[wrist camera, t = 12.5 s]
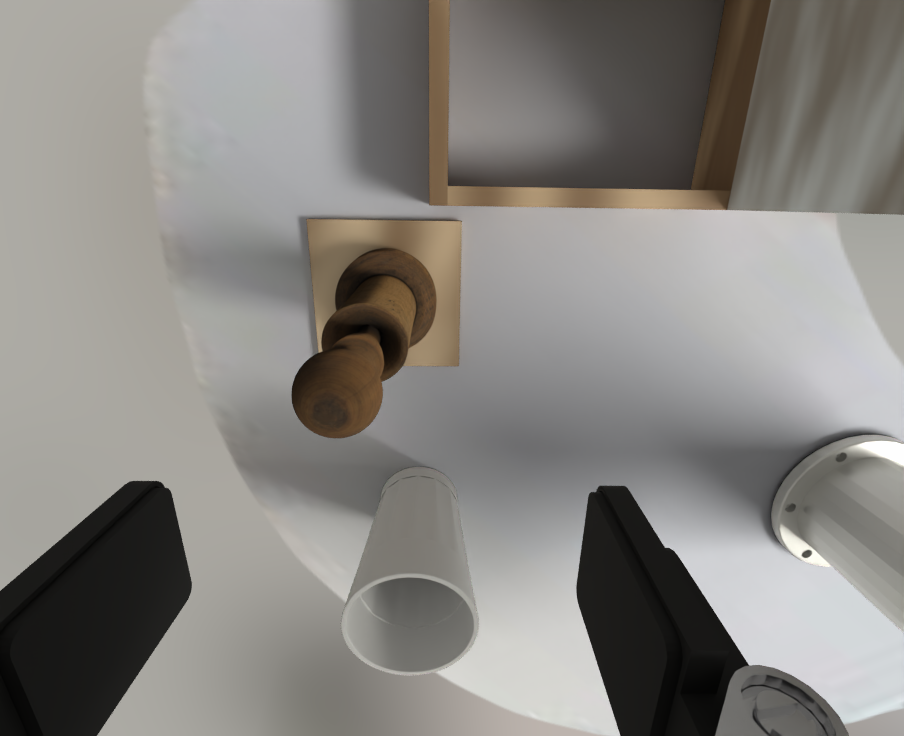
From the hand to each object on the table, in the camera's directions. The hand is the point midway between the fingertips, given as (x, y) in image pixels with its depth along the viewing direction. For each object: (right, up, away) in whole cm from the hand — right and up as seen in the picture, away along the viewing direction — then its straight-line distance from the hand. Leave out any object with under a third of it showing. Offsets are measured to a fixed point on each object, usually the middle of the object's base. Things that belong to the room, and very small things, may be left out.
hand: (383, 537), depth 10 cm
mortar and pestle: (-3, +9, +21) cm, 23 cm away
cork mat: (-3, +9, +21) cm, 23 cm away
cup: (-1, -7, +28) cm, 29 cm away
